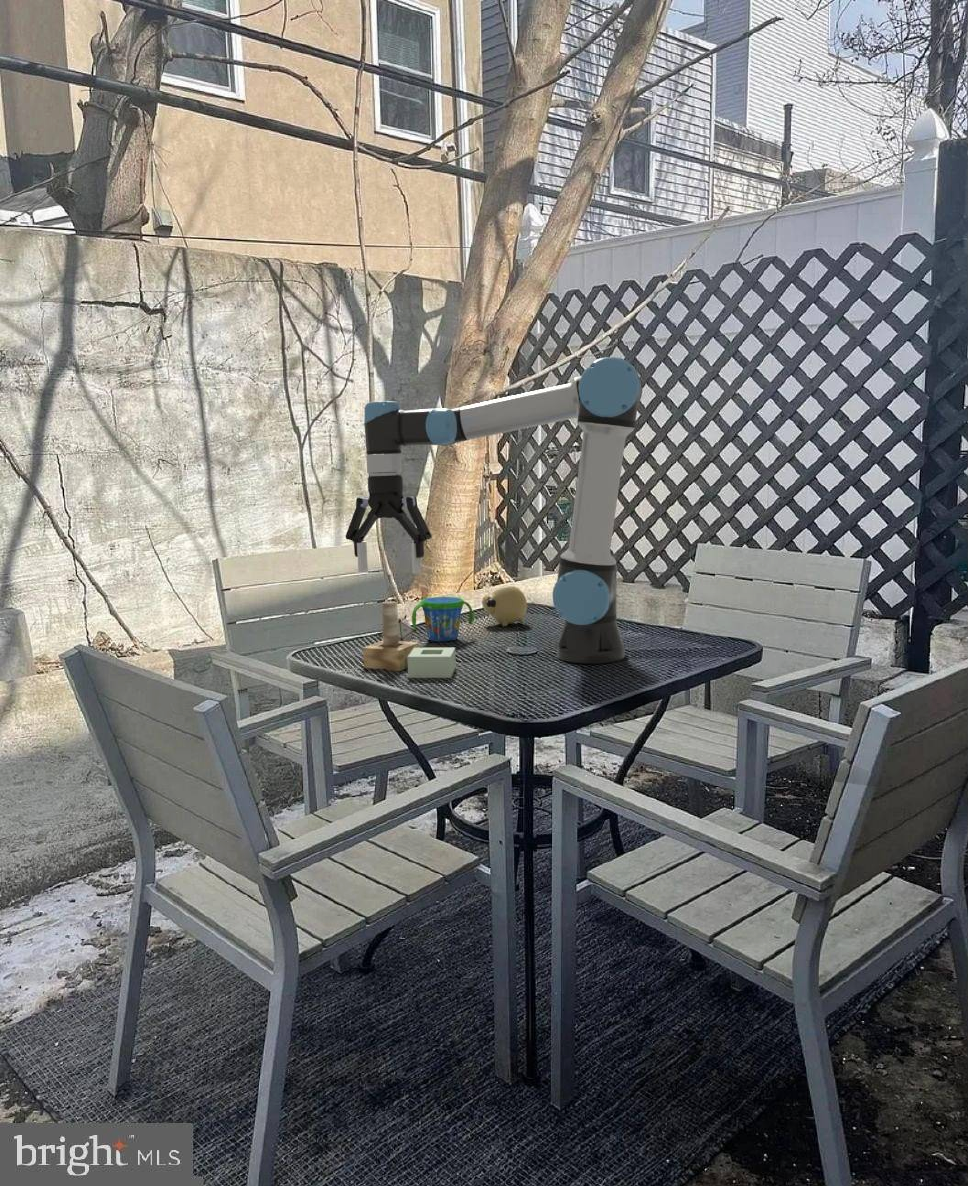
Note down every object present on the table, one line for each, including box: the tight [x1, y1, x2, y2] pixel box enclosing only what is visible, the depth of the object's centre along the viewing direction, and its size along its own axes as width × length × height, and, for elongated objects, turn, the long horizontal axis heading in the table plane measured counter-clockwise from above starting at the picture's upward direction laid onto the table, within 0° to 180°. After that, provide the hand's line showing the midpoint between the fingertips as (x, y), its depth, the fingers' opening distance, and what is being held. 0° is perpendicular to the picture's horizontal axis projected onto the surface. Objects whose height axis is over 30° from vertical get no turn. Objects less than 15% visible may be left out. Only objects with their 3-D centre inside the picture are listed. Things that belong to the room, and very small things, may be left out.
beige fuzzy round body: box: [481, 585, 528, 627], centre depth 249 cm, size 10×12×11 cm
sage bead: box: [407, 647, 457, 679], centre depth 197 cm, size 9×9×4 cm
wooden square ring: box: [362, 639, 420, 672], centre depth 205 cm, size 9×9×4 cm
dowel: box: [381, 601, 399, 648], centre depth 204 cm, size 3×3×14 cm
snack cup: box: [411, 596, 474, 643], centre depth 231 cm, size 16×10×10 cm
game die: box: [378, 615, 418, 642], centre depth 221 cm, size 9×8×10 cm
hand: (389, 572), depth 202 cm, fingers open, 13 cm apart
